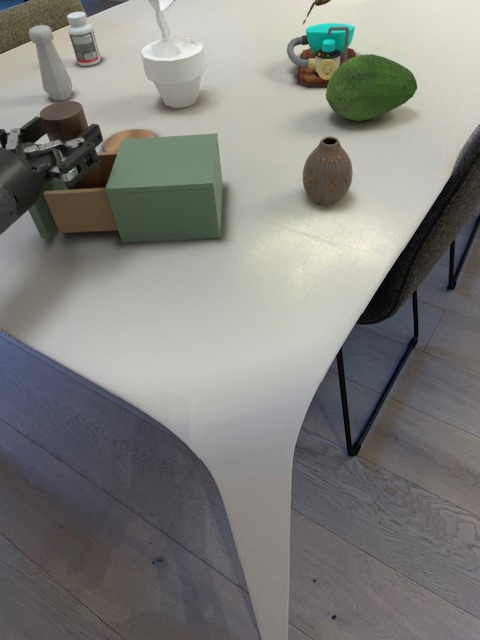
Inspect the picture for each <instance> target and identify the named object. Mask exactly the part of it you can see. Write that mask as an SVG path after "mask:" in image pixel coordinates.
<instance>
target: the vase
mask: <svg viewBox="0 0 480 640" xmlns="http://www.w3.org/2000/svg"><path fill="white" fill-rule="evenodd" d="M353 173H354V171H353V163H352V161H351V158H350V156H349V154H348V153H347V151H345V149H344V148H343V146H342V145H341V142H340V140H339V138H338V137H335V136H325V137H322V138H321V139H320V141H319V143H318V145H317V146H316V147H315V148H314V149H313V150H312V151H311V152H310V153H309V155H308V156H307V158H306V160H305V162H304V165H303V168H302V185H303V189H304V191H305V194H306V195H307V197H309V199H311V200H312V201H313V202H315V203H316V204H319V205H324V206H328V205H329V206H330V205H333V204H336V203H338V202H339V201H341V200H342V199H343V198H344V197H345V196H346V195H347V193H348V192H349V190H350V188H351V185H352V181H353V176H354V175H353Z"/></svg>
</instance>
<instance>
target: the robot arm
mask: <svg viewBox="0 0 480 640" xmlns="http://www.w3.org/2000/svg"><path fill="white" fill-rule="evenodd" d="M45 135H47V133H46V130H45V128H44V125H43V123H42V120H41V117H40V116H34V117H33V118H32V119H31V120H29V121H28V122H26V123H25V124H24V125H22V126H21V127H14V128H12V129H10V130H9V132H7V131H6V129H4V128H0V236H1V235H3V234H4V233H5V232H6V231H7V230H8V229H9V228H10V227H11V226H12V225H13V224H15V223H16V222H17V221H18V220H19V219H21V217H22V216H23V215H25V214H26V213H27V212H29V209H30V208H31V207H32V206H33V205H34V204H35V203H36V202H37V201H38V199H39V195H40V191H41V187H42V185H44V184H45V183H47V182H49V181H52V180H53V179H54V178H56V179H60V180H63V182H64V185H65V187H72V186H74V185H75V184H76V183H77V182H78V181H80V180H81V179H82V178H83V177H84V176H85V175H87V174H88V173H89V172H90V171H91V170H92V169H94V168H95V167H96V166H97V165H98V164H99V163H100V161H99V158H98V155H97V153H98V152H97V150H96V148H97V147H99V146H100V144H102V143H103V142H104V137H103V134H102V130H101V127H100V125H99V124H97V123H91V124H90V125H88V128H87V129H85V130H84V131H83V132H82V133H81V134H80V135H78V136H77V138H75V139H72V140H69V141H66V142H63V141H62V140H55V141H52V142H50V141H49V142H47V143H42V144H41V143H38V144H37V142H38V141H40V139H41V138H42V137H44V136H45ZM73 148H76V149H77V150H76V151H75V152H73V153H72V154H71V155H70V156H69V154H68V150H70V149H73ZM54 150H59V152H60V155H61V157H62V159H61V163H60V164H58V165H57V160H56V157H55V155H54V152H53V151H54Z"/></svg>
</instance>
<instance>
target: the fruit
mask: <svg viewBox="0 0 480 640" xmlns="http://www.w3.org/2000/svg"><path fill="white" fill-rule="evenodd" d="M417 90H418V82H417V79H416V77H415V75H414V73H413V72H412V71H411V70H410V69H409V68H407V67H405V66H403V65H402V64H400V63H398V62H396V61H394V60H392V59H389V58H387V57H385V56H381V55H377V54H373V53H369V54H368V53H367V54H359V55H357V56H356V57H353V58H350V59H349V60H347V61H346V62H344V63H343V64H341V65H340V66H339V67H338V68H337V69H336V70H335V72H334V73H333V75H332V76H331V78H330V80H329V81H328V85H327V87H326V90H325V100H326V101H327V103H328V106H329V107H330V108H331V109H332V111H333V112H334V113H336V114H337V115H339V116H340V117H342V118H345V119H347V120H351V121H367V120H372V119H376V118H379V117H381V116H384V115H385V114H387V113H389V112H392V111H394V110H395V109H397V108H398V107H401V106H403V105H405V104H406V103H408V101H410V99H412V98H414V95H415V94H416V92H417Z"/></svg>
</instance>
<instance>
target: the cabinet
mask: <svg viewBox="0 0 480 640" xmlns="http://www.w3.org/2000/svg"><path fill="white" fill-rule="evenodd" d="M221 165H222V164H221V155H220V147H219V138H218V133H204V134H202V133H201V134H187V135H170V136H155V137H152V138H135V139H122V142H121V144H120V147H119V150H118V153H117V156H116V159H115V162H114V165H113V168H112V171H111V174H110V177H109V180H108V183H107V186H106V189H105V190H106V193H107V196H108V199H109V203H110V206H111V209H112V212H113V215H114V219H115V222H116V225H117V228H118V230H117V232H118V234H119V238H120V240H121V243H123V244H125V243H144V242H162V241H163V242H164V241H185V240H186V241H187V240H203V239H204V240H207V239H220V238H221V227H222V226H221V225H222V212H223V209H222V208H223V193H224V190H223V189H224V183H223V173H222V166H221Z"/></svg>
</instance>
